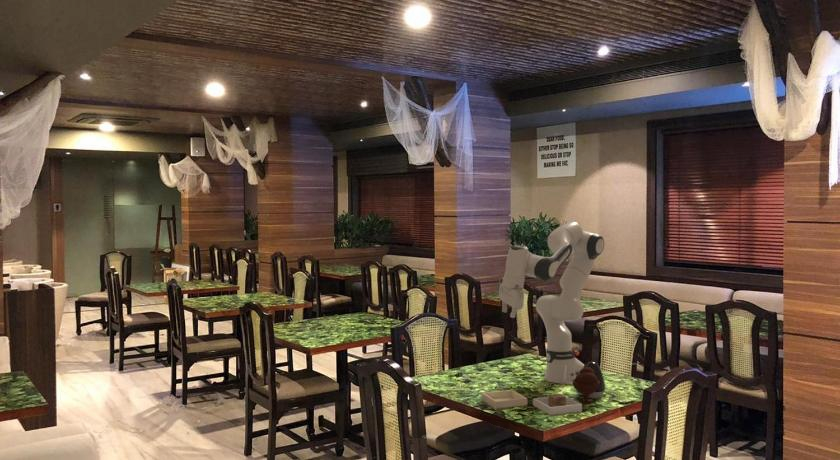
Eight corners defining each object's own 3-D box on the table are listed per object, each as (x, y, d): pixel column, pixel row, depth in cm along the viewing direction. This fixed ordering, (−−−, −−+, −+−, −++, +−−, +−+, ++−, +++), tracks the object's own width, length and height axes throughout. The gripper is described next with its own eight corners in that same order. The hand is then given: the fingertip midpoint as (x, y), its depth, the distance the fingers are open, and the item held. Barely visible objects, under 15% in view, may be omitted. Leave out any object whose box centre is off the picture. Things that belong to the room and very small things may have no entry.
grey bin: (563, 403, 279) (563, 395, 279) (582, 413, 266) (582, 404, 266) (533, 407, 275) (532, 398, 274) (550, 416, 261) (550, 407, 261)
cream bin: (512, 397, 288) (512, 389, 288) (527, 406, 275) (527, 398, 275) (481, 401, 284) (481, 392, 284) (495, 410, 271) (495, 401, 270)
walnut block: (559, 405, 273) (559, 393, 273) (565, 409, 269) (565, 396, 268) (548, 407, 272) (548, 394, 272) (554, 410, 267) (554, 397, 267)
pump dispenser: (574, 397, 289) (574, 361, 288) (590, 392, 295) (590, 357, 294) (594, 402, 281) (594, 365, 280) (610, 397, 287) (610, 361, 286)
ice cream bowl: (568, 401, 282) (568, 365, 282) (595, 400, 283) (594, 364, 283) (576, 408, 272) (576, 371, 271) (604, 407, 273) (603, 370, 272)
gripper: (529, 288, 281) (524, 321, 282) (511, 279, 301) (506, 309, 302) (515, 287, 279) (510, 320, 280) (498, 277, 299) (493, 308, 300)
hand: (508, 314), depth 291 cm, fingers open, 8 cm apart
